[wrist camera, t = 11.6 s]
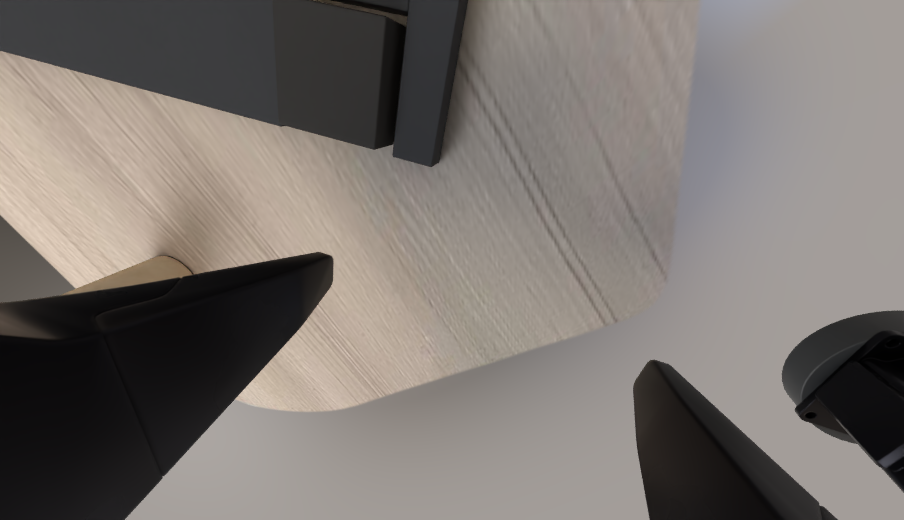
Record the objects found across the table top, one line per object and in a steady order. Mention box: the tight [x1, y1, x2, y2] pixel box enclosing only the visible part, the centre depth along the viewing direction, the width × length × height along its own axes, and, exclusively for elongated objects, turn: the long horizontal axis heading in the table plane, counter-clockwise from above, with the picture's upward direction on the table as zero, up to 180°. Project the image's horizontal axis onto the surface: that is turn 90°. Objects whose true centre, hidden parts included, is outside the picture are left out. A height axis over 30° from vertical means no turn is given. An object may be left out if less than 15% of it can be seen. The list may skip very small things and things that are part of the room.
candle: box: [62, 256, 193, 295], centre depth 26 cm, size 6×6×10 cm
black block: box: [272, 0, 406, 150], centre depth 18 cm, size 6×6×2 cm
